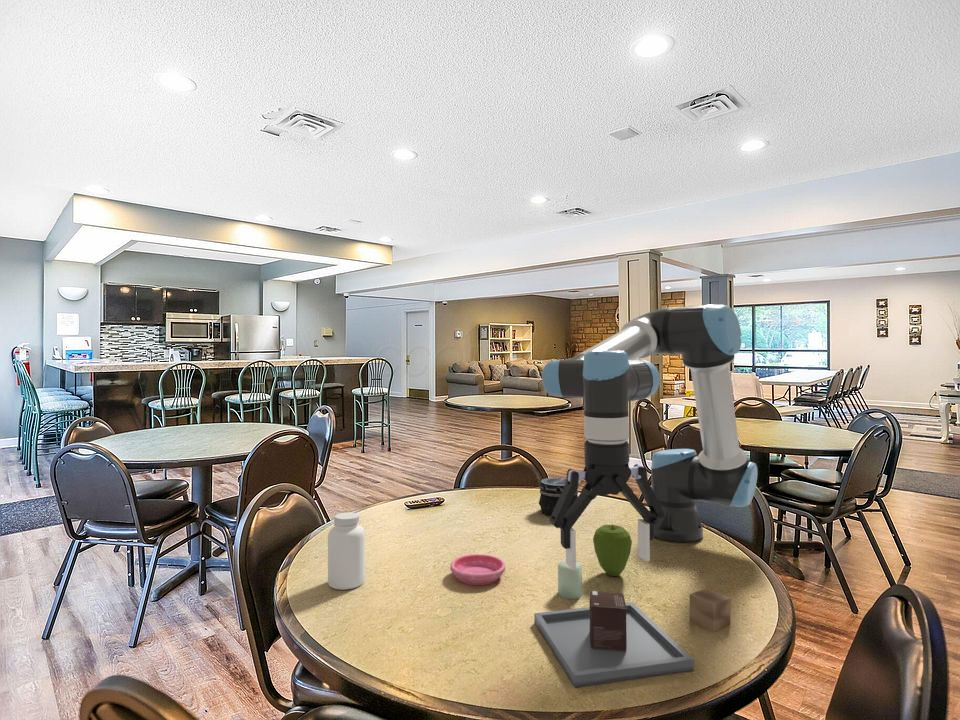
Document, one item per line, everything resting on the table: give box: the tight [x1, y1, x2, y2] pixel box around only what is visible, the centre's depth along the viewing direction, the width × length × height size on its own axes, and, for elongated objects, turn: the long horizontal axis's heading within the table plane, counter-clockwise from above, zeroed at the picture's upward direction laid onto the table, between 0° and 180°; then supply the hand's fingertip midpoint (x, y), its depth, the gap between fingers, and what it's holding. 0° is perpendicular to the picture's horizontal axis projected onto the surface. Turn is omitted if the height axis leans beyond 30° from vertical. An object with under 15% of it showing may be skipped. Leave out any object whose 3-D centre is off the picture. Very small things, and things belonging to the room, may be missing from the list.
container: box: [538, 477, 580, 517], centre depth 170 cm, size 13×13×10 cm
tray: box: [533, 601, 695, 688], centre depth 93 cm, size 20×20×2 cm
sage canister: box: [557, 560, 583, 600], centre depth 113 cm, size 5×5×6 cm
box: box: [588, 590, 627, 651], centre depth 93 cm, size 6×6×7 cm
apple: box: [592, 523, 633, 577], centre depth 122 cm, size 9×8×12 cm
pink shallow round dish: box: [449, 553, 506, 586], centre depth 122 cm, size 12×12×3 cm
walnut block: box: [689, 587, 731, 633], centre depth 101 cm, size 5×5×5 cm
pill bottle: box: [327, 511, 366, 591], centre depth 119 cm, size 8×8×15 cm
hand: (608, 562), depth 93 cm, fingers open, 13 cm apart
